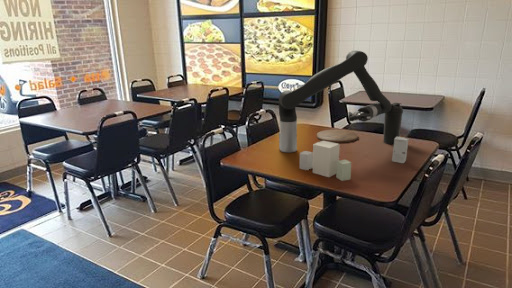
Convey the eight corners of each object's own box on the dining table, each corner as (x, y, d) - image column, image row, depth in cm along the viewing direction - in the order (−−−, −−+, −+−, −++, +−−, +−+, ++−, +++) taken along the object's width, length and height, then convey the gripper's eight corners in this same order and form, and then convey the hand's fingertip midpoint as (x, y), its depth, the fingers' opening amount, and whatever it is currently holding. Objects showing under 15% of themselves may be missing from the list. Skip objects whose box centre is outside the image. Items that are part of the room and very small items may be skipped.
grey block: (299, 168, 179) (299, 153, 176) (305, 166, 182) (305, 150, 179) (307, 170, 176) (307, 154, 173) (312, 168, 179) (312, 152, 176)
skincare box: (391, 161, 184) (393, 138, 180) (393, 159, 188) (395, 136, 184) (404, 163, 181) (406, 140, 177) (406, 161, 184) (408, 137, 181)
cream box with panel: (328, 177, 167) (329, 148, 163) (312, 172, 173) (313, 144, 169) (338, 172, 172) (339, 143, 168) (322, 168, 178) (323, 140, 174)
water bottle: (404, 143, 212) (407, 104, 206) (390, 145, 209) (393, 105, 202) (391, 138, 221) (395, 101, 215) (378, 141, 218) (380, 102, 211)
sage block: (336, 177, 167) (336, 160, 164) (344, 175, 168) (345, 159, 166) (341, 180, 163) (342, 164, 160) (350, 179, 164) (351, 162, 162)
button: (329, 162, 168) (329, 150, 166) (318, 160, 172) (318, 147, 170) (340, 157, 174) (340, 145, 172) (329, 155, 178) (329, 143, 176)
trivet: (365, 137, 228) (365, 134, 228) (343, 146, 212) (343, 143, 211) (331, 130, 246) (331, 127, 245) (308, 138, 229) (308, 135, 229)
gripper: (356, 104, 198) (339, 110, 186) (379, 107, 189) (362, 113, 177) (355, 118, 200) (338, 124, 189) (378, 121, 191) (362, 128, 180)
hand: (350, 119), depth 183 cm, fingers closed
